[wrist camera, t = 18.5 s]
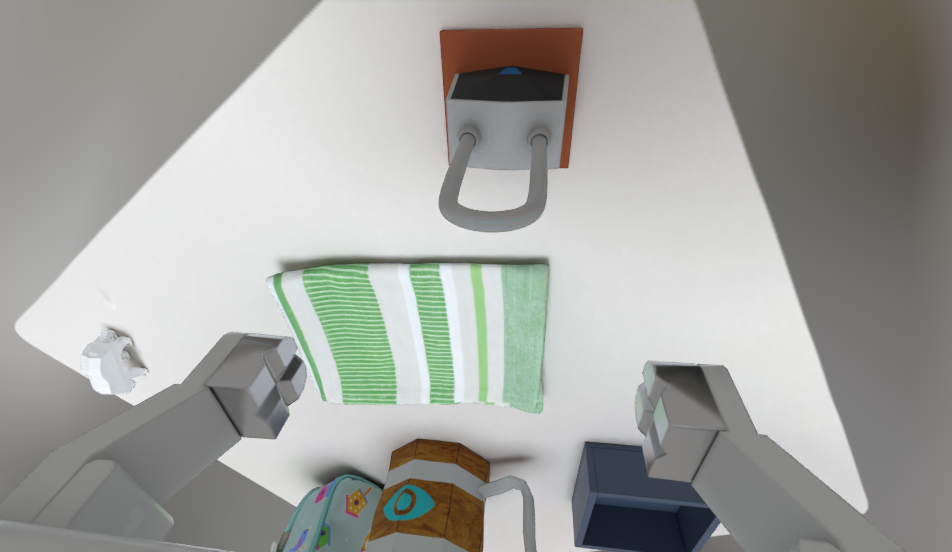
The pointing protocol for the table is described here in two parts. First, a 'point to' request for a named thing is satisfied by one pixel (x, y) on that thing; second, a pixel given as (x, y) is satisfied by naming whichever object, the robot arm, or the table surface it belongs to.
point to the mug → (440, 501)
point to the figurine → (109, 364)
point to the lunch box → (332, 518)
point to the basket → (635, 505)
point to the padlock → (503, 138)
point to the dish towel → (419, 332)
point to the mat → (516, 59)
